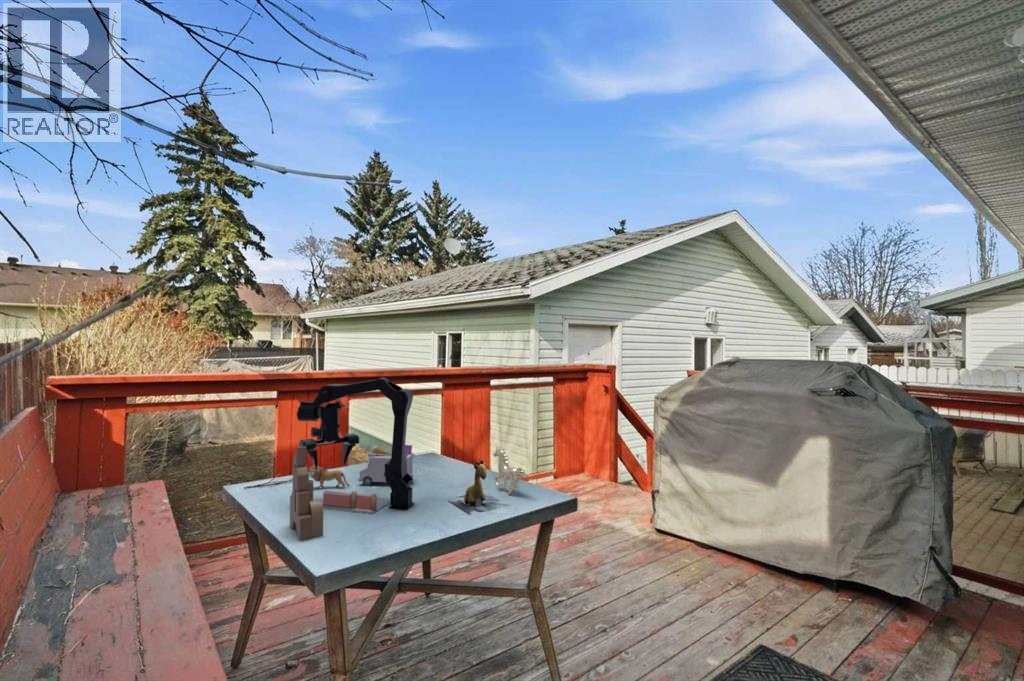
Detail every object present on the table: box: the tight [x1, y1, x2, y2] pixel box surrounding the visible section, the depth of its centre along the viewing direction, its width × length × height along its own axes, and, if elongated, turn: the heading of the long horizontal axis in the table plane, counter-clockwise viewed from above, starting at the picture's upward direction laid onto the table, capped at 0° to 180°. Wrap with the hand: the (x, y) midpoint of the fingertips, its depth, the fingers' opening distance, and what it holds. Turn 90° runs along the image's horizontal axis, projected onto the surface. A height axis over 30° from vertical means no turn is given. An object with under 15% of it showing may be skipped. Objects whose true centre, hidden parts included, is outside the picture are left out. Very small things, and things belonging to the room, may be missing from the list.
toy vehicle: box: [357, 444, 414, 486], centre depth 193 cm, size 9×20×15 cm, turn 88°
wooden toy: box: [289, 446, 324, 541], centre depth 146 cm, size 16×7×25 cm, turn 35°
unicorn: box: [493, 444, 527, 496], centre depth 184 cm, size 20×4×17 cm, turn 37°
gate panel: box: [322, 490, 351, 507], centre depth 166 cm, size 10×1×4 cm, turn 75°
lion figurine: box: [308, 465, 351, 490], centre depth 187 cm, size 15×5×9 cm, turn 107°
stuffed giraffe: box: [446, 459, 510, 515], centre depth 173 cm, size 16×18×16 cm
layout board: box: [322, 496, 390, 515], centre depth 170 cm, size 21×15×1 cm
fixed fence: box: [350, 491, 378, 511], centre depth 163 cm, size 9×2×6 cm, turn 75°
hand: (330, 466), depth 169 cm, fingers open, 9 cm apart
